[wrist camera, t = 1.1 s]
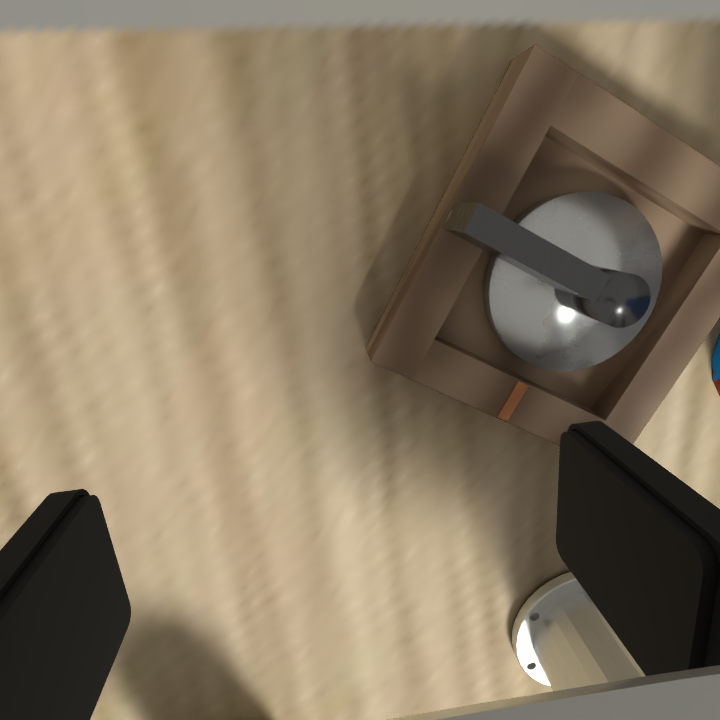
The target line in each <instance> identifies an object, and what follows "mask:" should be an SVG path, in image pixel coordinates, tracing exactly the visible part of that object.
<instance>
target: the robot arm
mask: <svg viewBox="0 0 720 720" xmlns="http://www.w3.org/2000/svg"><path fill="white" fill-rule="evenodd" d="M556 544H557V548H558V552H559V554H560V556H561V558H562V560H563V561H564V563H565V564H566V565H567V567H568V568H569V570H570V571H571V572H568V573H565V574H562V575H560V576H558V577H556V578H554V579H552V580H550V581H549V582H547V583H546V584H544V585H543V586H542V587H540V588H539V589H538V590H537V591H535V592H534V593H533V594H532V595H531V596H530V597H529V598H528V600H527V601H526V602H525V604H524V605H523V606H522V608H521V609H520V611H519V613H518V615H517V617H516V619H515V622H514V626H513V630H512V644H513V649H514V652H515V654H516V657H517V659H518V661H519V663H520V665H521V667H522V668H523V670H524V671H525V672H526V673H527V674H528V675H529V676H530V677H532V678H533V679H535V680H536V681H538V682H540V683H542V684H545V685H548V686H551V688H552V690H553V692H547V693H541V694H535V695H529V696H523V697H517V698H511V699H505V700H499V701H493V702H487V703H481V704H475V705H469V706H463V707H457V708H451V709H446V710H440V711H434V712H428V713H422V714H417V715H411V716H405V717H399V718H393V719H388V720H720V509H719V508H717V507H716V506H715V505H713V504H712V503H711V502H709V501H708V500H707V499H705V498H704V497H702V496H701V495H700V494H698V493H697V492H696V491H694V490H693V489H692V488H690V487H689V486H688V485H686V484H685V483H684V482H682V481H681V480H680V479H678V478H677V477H676V476H674V475H673V474H672V473H670V472H669V471H668V470H666V469H665V468H664V467H662V466H661V465H660V464H658V463H657V462H656V461H654V460H653V459H652V458H650V457H649V456H648V455H646V454H645V453H644V452H642V451H641V450H640V449H638V448H637V447H635V446H634V445H633V444H631V443H630V442H629V441H627V440H626V439H625V438H623V437H622V436H621V435H619V434H618V433H617V432H615V431H614V430H613V429H611V428H610V427H609V426H607V425H606V424H605V423H603V422H601V421H591V422H583V423H575V424H571V425H570V426H569V428H568V430H567V432H563V433H562V435H561V438H560V458H559V482H558V506H557V531H556ZM130 617H131V607H130V602H129V599H128V595H127V592H126V588H125V585H124V582H123V578H122V575H121V572H120V568H119V565H118V561H117V558H116V555H115V551H114V548H113V545H112V541H111V538H110V535H109V531H108V528H107V524H106V521H105V518H104V514H103V511H102V508H101V504H100V501H99V499H98V498H97V496H95V495H89V493H88V492H87V491H86V490H84V489H79V490H72V491H64V492H56V493H51V494H50V495H48V496H47V497H46V498H45V500H44V501H43V502H42V503H41V504H40V505H39V506H38V508H37V509H36V510H35V511H34V512H33V513H32V515H31V516H30V517H29V518H28V519H27V520H26V522H25V523H24V524H23V525H22V526H21V527H20V528H19V530H18V531H17V532H16V533H15V534H14V535H13V537H12V538H11V539H10V540H9V541H8V542H7V544H6V545H5V546H4V547H3V548H2V549H1V550H0V720H90V718H91V716H92V713H93V711H94V709H95V706H96V704H97V701H98V699H99V696H100V694H101V692H102V689H103V687H104V684H105V682H106V679H107V677H108V675H109V672H110V670H111V667H112V665H113V662H114V660H115V658H116V655H117V653H118V650H119V648H120V645H121V643H122V641H123V638H124V636H125V633H126V631H127V628H128V626H129V623H130Z"/></svg>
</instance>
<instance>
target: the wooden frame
mask: <svg viewBox="0 0 720 720" xmlns="http://www.w3.org/2000/svg"><path fill="white" fill-rule="evenodd" d="M571 192H599V193H606V194H610V195H613V196H616V197H618V198H620V199H622V200H624V201H626V202H628V203H630V204H631V205H632V206H634V207H635V208H636V209H637V210H639V211H640V212H641V213H642V214H643V215H644V217H645V218H646V219H647V221H648V222H649V223H650V225H651V227H652V228H653V230H654V232H655V234H656V237H657V240H658V243H659V246H660V251H661V256H662V280H661V285H660V291H659V294H658V297H657V301H656V303H655V306H654V308H653V310H652V312H651V314H650V316H649V318H648V320H647V321H646V323H645V325H644V326H643V327H642V329H641V330H640V331H639V333H638V334H637V335H636V336H635V337H634V338H633V339H632V341H631V342H630V343H628V344H627V345H626V346H625V347H624V348H623V349H622V350H620V351H619V352H618V353H616V354H615V355H613V356H612V357H610V358H608V359H607V360H605V361H603V362H601V363H598V364H596V365H594V366H591V367H587V368H584V369H580V370H574V371H552V370H546V369H542V368H539V367H536V366H534V365H531V364H529V363H527V362H526V361H524V360H522V359H521V358H519V357H518V356H517V355H515V354H514V353H513V352H511V351H510V350H509V349H508V348H506V347H505V346H504V344H503V343H502V342H501V341H500V340H499V339H498V337H497V336H496V334H495V333H494V331H493V329H492V327H491V325H490V323H489V321H488V318H487V315H486V311H485V306H484V296H483V287H484V277H485V272H486V267H487V264H488V261H489V258H490V255H491V254H490V253H489V252H487V251H485V250H483V249H481V248H479V247H477V246H475V245H474V244H472V243H470V242H468V241H466V240H464V239H462V238H460V237H459V236H457V235H455V234H453V233H451V232H449V231H447V230H445V229H444V226H445V224H446V222H447V220H448V218H449V216H450V214H451V212H452V210H453V209H454V207H455V205H456V203H481V204H482V205H484V206H486V207H488V208H490V209H491V210H493V211H495V212H497V213H499V214H500V215H502V216H504V217H506V218H508V219H509V220H511V221H514V220H515V219H516V218H517V217H518V216H519V215H520V214H522V213H523V212H524V211H526V210H527V209H528V208H530V207H531V206H533V205H535V204H537V203H538V202H540V201H542V200H545V199H547V198H549V197H552V196H556V195H559V194H564V193H571ZM719 318H720V166H719V165H717V164H716V163H714V162H713V161H711V160H709V159H708V158H706V157H705V156H703V155H702V154H700V153H699V152H697V151H696V150H694V149H693V148H691V147H690V146H688V145H687V144H685V143H684V142H682V141H681V140H679V139H678V138H676V137H675V136H673V135H672V134H670V133H669V132H667V131H666V130H664V129H663V128H661V127H660V126H658V125H657V124H655V123H654V122H652V121H651V120H649V119H647V118H646V117H644V116H643V115H641V114H640V113H638V112H637V111H635V110H634V109H632V108H631V107H629V106H628V105H626V104H625V103H623V102H622V101H620V100H619V99H617V98H616V97H614V96H613V95H611V94H610V93H608V92H607V91H605V90H604V89H602V88H601V87H599V86H598V85H596V84H595V83H593V82H592V81H590V80H589V79H587V78H585V77H584V76H582V75H581V74H579V73H578V72H576V71H575V70H573V69H572V68H570V67H569V66H567V65H566V64H564V63H563V62H561V61H560V60H558V59H557V58H555V57H554V56H552V55H551V54H549V53H548V52H546V51H545V50H543V49H542V48H540V47H539V46H537V45H536V44H535V45H534V46H532V47H531V48H529V49H528V50H526V51H525V52H523V53H522V54H521V55H519V56H518V57H516V58H515V59H513V60H512V62H511V64H510V66H509V68H508V70H507V72H506V74H505V75H504V77H503V79H502V81H501V83H500V85H499V87H498V89H497V91H496V93H495V95H494V97H493V99H492V101H491V103H490V105H489V107H488V109H487V111H486V113H485V115H484V117H483V119H482V121H481V123H480V125H479V126H478V128H477V130H476V132H475V134H474V136H473V138H472V140H471V142H470V144H469V146H468V148H467V150H466V152H465V154H464V156H463V158H462V160H461V162H460V164H459V166H458V168H457V170H456V172H455V174H454V175H453V177H452V179H451V181H450V183H449V185H448V187H447V189H446V191H445V193H444V195H443V197H442V199H441V201H440V203H439V205H438V207H437V209H436V211H435V213H434V215H433V217H432V219H431V221H430V223H429V225H428V226H427V228H426V230H425V232H424V234H423V236H422V238H421V240H420V242H419V244H418V246H417V248H416V250H415V252H414V254H413V256H412V258H411V260H410V262H409V264H408V266H407V268H406V270H405V272H404V274H403V276H402V277H401V279H400V281H399V283H398V285H397V287H396V289H395V291H394V293H393V295H392V297H391V299H390V301H389V303H388V305H387V307H386V309H385V311H384V313H383V315H382V317H381V319H380V321H379V323H378V325H377V326H376V328H375V330H374V332H373V334H372V336H371V338H370V340H369V342H368V344H367V346H366V350H367V352H368V355H369V357H370V360H371V362H373V363H375V364H378V365H380V366H382V367H384V368H387V369H389V370H391V371H393V372H396V373H398V374H400V375H402V376H405V377H407V378H409V379H411V380H414V381H416V382H418V383H420V384H422V385H425V386H427V387H429V388H431V389H434V390H436V391H438V392H440V393H443V394H445V395H447V396H449V397H452V398H454V399H456V400H458V401H461V402H463V403H465V404H467V405H470V406H472V407H474V408H476V409H479V410H481V411H483V412H485V413H487V414H490V415H492V416H494V417H496V418H499V419H501V420H503V421H505V422H508V423H510V424H512V425H514V426H517V427H519V428H521V429H523V430H526V431H528V432H530V433H532V434H535V435H537V436H539V437H541V438H544V439H546V440H548V441H550V442H553V443H555V444H557V445H559V446H560V438H561V435H562V433H563V432H567V430H568V428H569V426H570V425H571V424H575V423H583V422H591V421H601V422H603V423H605V424H606V425H607V426H609V427H610V428H611V429H613V430H614V431H615V432H617V433H618V434H619V435H621V436H622V437H623V438H625V439H626V440H627V441H629V442H630V443H631V444H633V443H634V442H635V441H636V439H637V438H638V436H639V435H640V433H641V432H642V430H643V429H644V427H645V426H646V424H647V423H648V422H649V420H650V419H651V417H652V416H653V414H654V413H655V411H656V410H657V408H658V407H659V405H660V404H661V403H662V401H663V400H664V398H665V397H666V395H667V394H668V392H669V391H670V389H671V388H672V386H673V385H674V384H675V382H676V381H677V379H678V378H679V376H680V375H681V373H682V372H683V370H684V369H685V367H686V366H687V365H688V363H689V362H690V360H691V359H692V357H693V356H694V354H695V353H696V351H697V350H698V348H699V347H700V346H701V344H702V343H703V341H704V340H705V338H706V337H707V335H708V334H709V332H710V331H711V329H712V328H713V327H714V325H715V324H716V322H717V321H718V319H719Z"/></svg>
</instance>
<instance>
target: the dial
mask: <svg viewBox="0 0 720 720" xmlns="http://www.w3.org/2000/svg"><path fill="white" fill-rule="evenodd" d="M444 229H445V230H447V231H449V232H451V233H453V234H455V235H457V236H459V237H460V238H462V239H464V240H466V241H468V242H470V243H472V244H474V245H475V246H477V247H479V248H481V249H483V250H485V251H487V252H489V253H490V254H491V255H490V258H489V261H488V264H487V267H486V272H485V277H484V287H483V296H484V306H485V311H486V315H487V318H488V321H489V323H490V325H491V327H492V329H493V331H494V333H495V334H496V336H497V337H498V339H499V340H500V341H501V342H502V343H503V344H504V346H505V347H506V348H508V349H509V350H510V351H511V352H513V353H514V354H515V355H517V356H518V357H519V358H521V359H522V360H524V361H526V362H527V363H529V364H531V365H534V366H536V367H539V368H542V369H546V370H552V371H574V370H580V369H584V368H587V367H591V366H594V365H596V364H598V363H601V362H603V361H605V360H607V359H608V358H610V357H612V356H613V355H615V354H616V353H618V352H619V351H620V350H622V349H623V348H624V347H625V346H626V345H627V344H628V343H630V342H631V341H632V339H633V338H634V337H635V336H636V335H637V334H638V333H639V331H640V330H641V329H642V327H643V326H644V325H645V323H646V321H647V320H648V318H649V316H650V314H651V312H652V310H653V308H654V306H655V303H656V301H657V297H658V294H659V291H660V285H661V280H662V256H661V251H660V246H659V243H658V240H657V237H656V234H655V232H654V230H653V228H652V227H651V225H650V223H649V222H648V221H647V219H646V218H645V217H644V215H643V214H642V213H641V212H640V211H639V210H637V209H636V208H635V207H634V206H632V205H631V204H630V203H628V202H626V201H624V200H622V199H620V198H618V197H616V196H613V195H610V194H606V193H599V192H571V193H564V194H559V195H556V196H552V197H549V198H547V199H545V200H542V201H540V202H538V203H537V204H535V205H533V206H531V207H530V208H528V209H527V210H526V211H524V212H523V213H522V214H520V215H519V216H518V217H517V218H516V219H515V220H514V221H511V220H509V219H508V218H506V217H504V216H502V215H500V214H499V213H497V212H495V211H493V210H491V209H490V208H488V207H486V206H484V205H482V204H481V203H456V205H455V207H454V209H453V210H452V212H451V214H450V216H449V218H448V220H447V222H446V224H445V226H444Z"/></svg>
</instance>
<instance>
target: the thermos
mask: <svg viewBox="0 0 720 720" xmlns="http://www.w3.org/2000/svg"><path fill="white" fill-rule="evenodd" d="M712 375H713V382H714V384H715V386H716V389H717V391H718V393H719V395H720V335H719V338H718V341H717V344H716V348H715V351H714V354H713V357H712Z"/></svg>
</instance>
